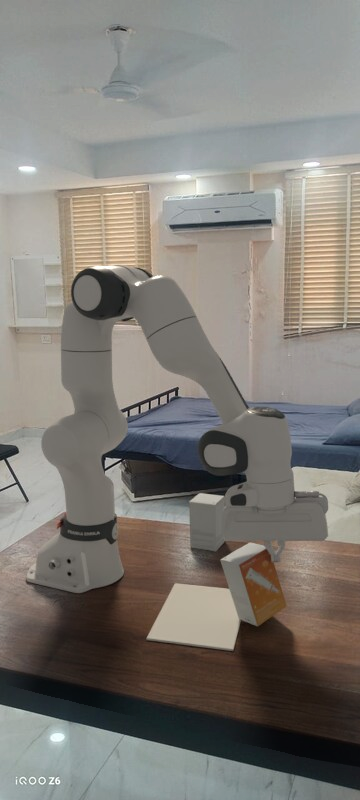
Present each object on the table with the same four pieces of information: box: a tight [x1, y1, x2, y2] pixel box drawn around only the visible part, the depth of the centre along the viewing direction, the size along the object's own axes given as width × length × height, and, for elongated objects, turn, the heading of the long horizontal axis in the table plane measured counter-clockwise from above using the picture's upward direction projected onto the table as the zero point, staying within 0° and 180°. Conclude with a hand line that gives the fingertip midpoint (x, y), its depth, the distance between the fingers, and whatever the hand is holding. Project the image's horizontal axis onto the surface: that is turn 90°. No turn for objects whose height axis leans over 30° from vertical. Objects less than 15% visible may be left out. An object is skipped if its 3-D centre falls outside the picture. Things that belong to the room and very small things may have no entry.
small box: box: [220, 541, 288, 627], centre depth 116 cm, size 8×6×13 cm
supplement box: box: [188, 492, 226, 552], centre depth 152 cm, size 7×7×13 cm
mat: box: [146, 582, 242, 652], centre depth 119 cm, size 16×22×1 cm
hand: (276, 561), depth 113 cm, fingers closed
